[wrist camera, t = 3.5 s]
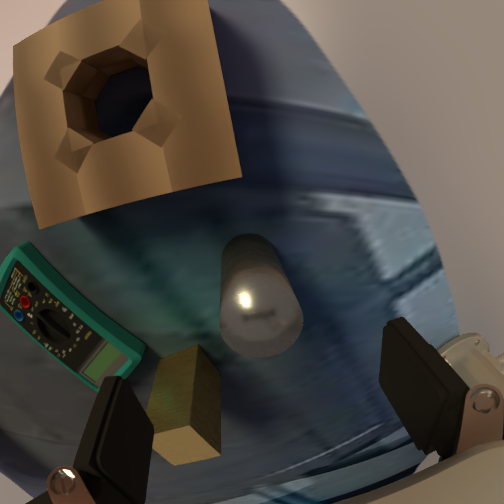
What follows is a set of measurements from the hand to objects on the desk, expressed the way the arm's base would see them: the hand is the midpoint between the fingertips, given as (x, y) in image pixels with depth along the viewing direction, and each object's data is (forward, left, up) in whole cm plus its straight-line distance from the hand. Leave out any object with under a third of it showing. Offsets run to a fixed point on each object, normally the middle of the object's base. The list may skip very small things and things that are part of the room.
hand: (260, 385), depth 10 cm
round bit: (0, 0, -14) cm, 14 cm away
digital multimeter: (+17, +3, -14) cm, 22 cm away
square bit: (+7, +9, -14) cm, 18 cm away
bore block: (+6, -13, -14) cm, 19 cm away
